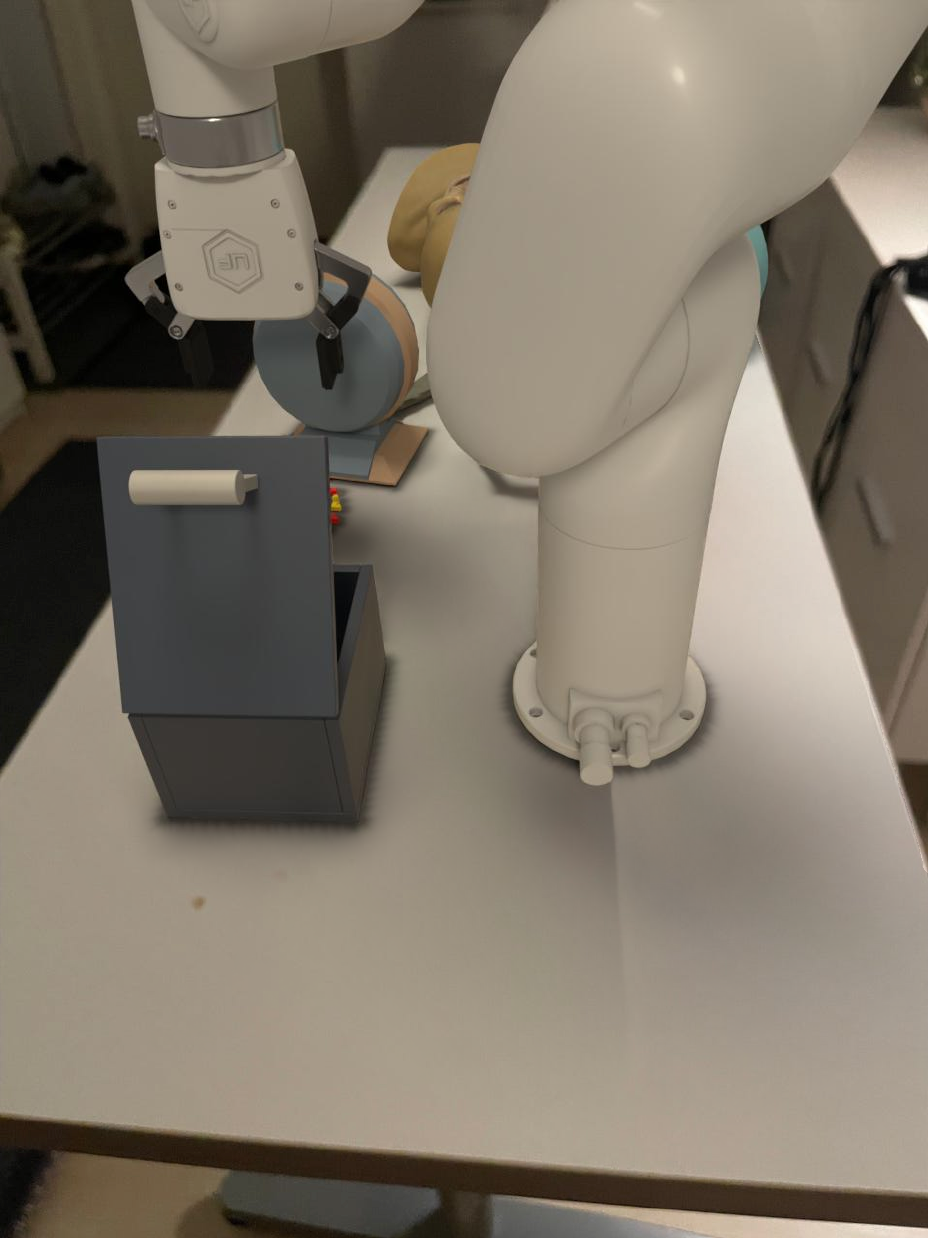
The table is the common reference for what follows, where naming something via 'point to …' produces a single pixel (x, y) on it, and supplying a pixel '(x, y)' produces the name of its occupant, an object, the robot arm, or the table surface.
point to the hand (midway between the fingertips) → (267, 381)
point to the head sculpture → (430, 213)
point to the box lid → (221, 573)
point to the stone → (417, 393)
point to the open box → (280, 736)
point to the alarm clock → (349, 383)
